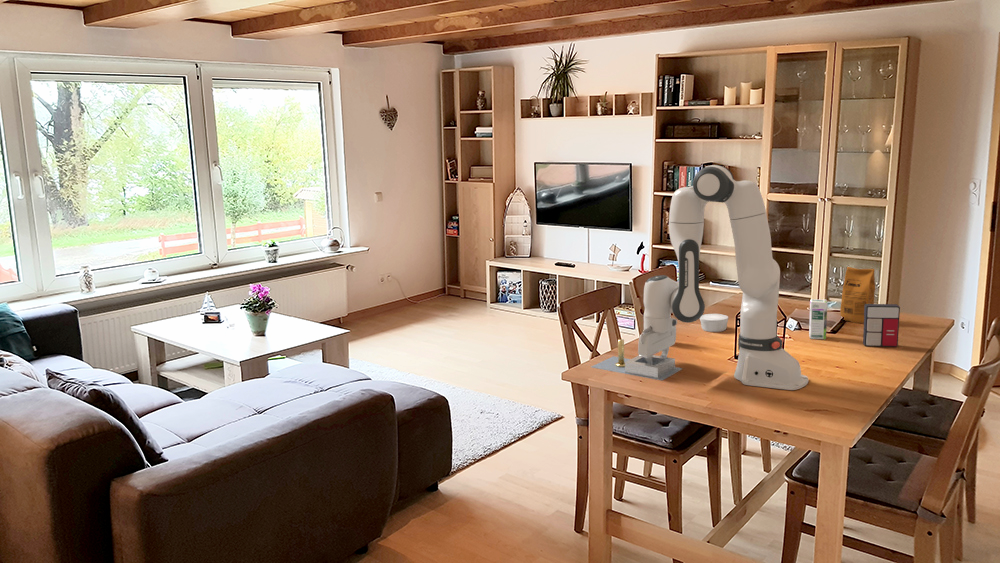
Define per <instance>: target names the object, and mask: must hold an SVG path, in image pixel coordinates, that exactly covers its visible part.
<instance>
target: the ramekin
mask: <svg viewBox="0 0 1000 563" xmlns="http://www.w3.org/2000/svg"><path fill="white" fill-rule="evenodd" d="M699 320H700V327H701V330H703V331H705V332H709V333H710V332H711V333H720V332H724V331H725V330H726V329H727V327H728V322H729V316H728V315H725V314H721V313H705V314H703V315H702V316H701V317H700V318H699Z"/></svg>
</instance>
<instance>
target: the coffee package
mask: <svg viewBox="0 0 1000 563" xmlns="http://www.w3.org/2000/svg"><path fill="white" fill-rule="evenodd" d="M875 281H876V280H875V268H861V269H860V268H855V267H853V266H852V267H851V266H847V267H846V271H845V275H844V281H843V286H842V293H841V303H840V307H839V308H840V311H839V312H840V316H842V317H844V320H845V321H844V322H851V323H855V324H864V306H865V304H875V296H876V295H875V294H876V293H875V291H876V283H875Z"/></svg>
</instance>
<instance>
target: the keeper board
mask: <svg viewBox="0 0 1000 563" xmlns="http://www.w3.org/2000/svg"><path fill="white" fill-rule="evenodd" d="M630 359H631V358H625V357H624V362H626V361H628V360H630ZM617 362H618V356H616V355H613V356H610V357H608V358H607V359H604V360H602V361H600V362H597V363H596V364H594V365H591V366H590V368H593V369H599V370H603V371H609V372H614V373H619V374H625V375H630V376H635V377H641V378H647V379H651V380H655V381H664V380H666V379H668V378H669V377H671V376H673V375H674V374H676V373H678V372H680V371H681V370H683V369H684V368H682V367H676V366H675V369H674V370H672V371H671V372H669V373H667V374H665V375H663V376H662V377H660V378H658V379H657V378H652V377H646V376H641V375H636V374H630V373H625V367H617V366H615V363H617Z"/></svg>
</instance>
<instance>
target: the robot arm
mask: <svg viewBox="0 0 1000 563" xmlns="http://www.w3.org/2000/svg"><path fill="white" fill-rule="evenodd" d="M709 202H713V203H724V204H725V205H726V208H727V211H728V216H729V221H730V222H729V223H730V227H731V228H730V229H731V232H732V238H733V243H734V252H735V264H736V265H735V267H736V273H737V281H738V287H739V289H740V291H741V292H742V297H741V305H740V319H739V320H740V321H739V323H740V324H739V325H740V326H739V333H738V340H737V346H738V347H737V348H738V358H737V363H736V367H735V370H734V371H735V372H734V374H733V377H734V379H736V380H737V381H740V382H741V384H743V385H745V386H753V387H759V388H761V387H762V388H767V389H768V388H770V389H779V390H786V391H787V390H788V391H795V390H799V389H802V388H804V387H806V386H807V385H808V383H809V377H808V376H807V375H805V374H802V368H801V365H800V362H799V360H797V359H796V358H795V357H794V356H793V355H791V354H790V353H789V352H788V351H786V350H785V348H783V343H784V340H785V339H784V337H783V338H780V337H779V336H778V334H777V330H778V329H777V325H778V305H779V296H780V295H779V293H780V284H781V283H780V279H781V268H780V265H779V263H778V262H777V261H776V260H775V259H774V258H773V247H772V238H771V237H772V236H771V229H770V226H769V221H768V214H767V211H766V210H767V209H766V205H765V202H764V197H763V195H762V193H761V190H760V188H759V186H758V184H757V183H756V182H754V181H751V180H746V179H744V180H739V181H738V180H735V178H734V175H733V173H732V171H731V170H730V169H729V168H728V167H726V166H723V165H718V164H712V165H707V166H706V167H703V168H701V169H700V170H698V172H696V174H695V175H694V177H693V180H692V185H691V186H684V187H680V188H678V189H676V190H675V191H674V192H673V194H672V197H671V200H670V206H669V213H668V214H669V215H668V231H669V232H668V233H669V238H670V240H669V241H670V244H671V246H672V247H673V250H674V252H675V255H676V258H677V263H678V281H676V280H674V279H672V278H670V277H669V276H668V275H661V274H660V275H655V276H651V277H649V278H648V279H647V280H646V281H645V283H644V286H643V306H644V313H643V330H642V332H641V334H640V335H639V336H638V337H639V338H638V344H637V345H638V347H637V354H638V355H639V356H640V357H645V359H646V362H647V364H652V365H654V362H652V358H653V355H656V354H659V353H660V352H661V354H660V355H659V356H662V357H668V354H669V351H670V347H672V346H674V345H675V343H676V340H677V327H676V326H677V325H678V321H679V322H682V323H686V324H687V323H689V324H690V323H694V322H697V321H699V320H700V317H701V316H702V315H704V312H705V308H706V306H705V301H704V299H703V296H702V295H701V292H700V280H699V279H700V255H701V247H702V244H703V243H702V242H703V236H704V227H705V226H704V224H705V208H706V206H707V204H708V203H709ZM671 314H673V316H674V317H675V318H673V317H671V316H672V315H671Z"/></svg>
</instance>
